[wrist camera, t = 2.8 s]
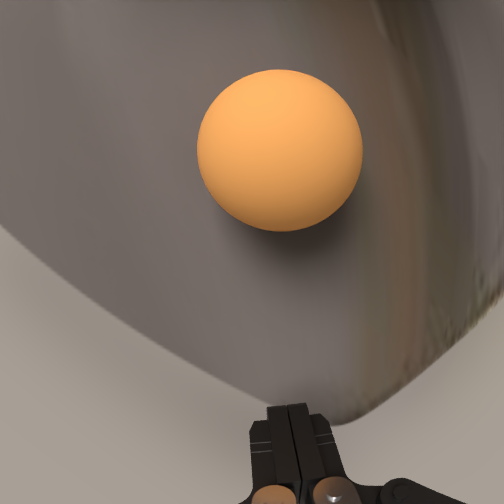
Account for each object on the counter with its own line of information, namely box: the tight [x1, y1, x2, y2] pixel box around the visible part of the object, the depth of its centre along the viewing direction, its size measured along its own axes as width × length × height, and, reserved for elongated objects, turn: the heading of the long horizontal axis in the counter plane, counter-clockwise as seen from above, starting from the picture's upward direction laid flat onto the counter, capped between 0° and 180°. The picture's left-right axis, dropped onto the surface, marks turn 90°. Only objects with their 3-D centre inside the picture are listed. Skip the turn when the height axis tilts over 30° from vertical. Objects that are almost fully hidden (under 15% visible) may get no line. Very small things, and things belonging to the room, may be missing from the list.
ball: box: [197, 70, 363, 231], centre depth 10 cm, size 6×6×6 cm
